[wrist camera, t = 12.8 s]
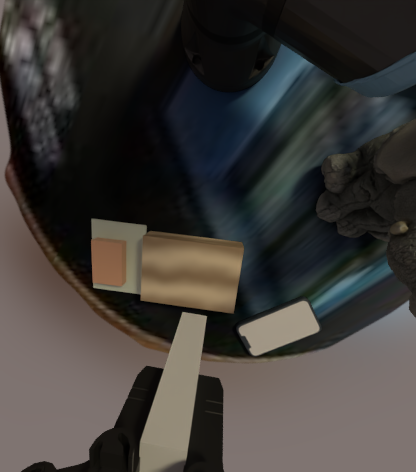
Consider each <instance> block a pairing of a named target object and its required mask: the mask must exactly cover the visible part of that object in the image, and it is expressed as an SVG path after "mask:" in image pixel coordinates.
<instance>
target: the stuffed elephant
mask: <svg viewBox="0 0 416 472" xmlns="http://www.w3.org/2000/svg"><path fill="white" fill-rule="evenodd" d="M321 170H322V174H323V175H324V177H325V179H324V182H325V187H326V188H327V189H326V191H325V192H324V193H323V194H321V196H320V197H319V199H318V202H317V206H316V211H317V216H318V217H319V218H321V219H323V220H325V221H327V222H335V221H336V223H337V229H338V233H339V234H341V235H343V236H347V237H350V238H352V237H353V238H355V237H359V236H361V235H363V234H365V233H366V232H368V233H370V234H372V236H374V237H376V238H378V239H381V240H383V241H386V242H389V243H388V246H387V250H386V251H387V252H386V256H387V260H388V265H389V266H390V268H391V270H393V272H394V274H395V276H396V277H397V278H398V279H399V281H401V282H402V283H403V284H405V285H406V286H407V287H408V288H409V290H410V291H411V292H412V295H411V296H410V299H409V310H410V311H411V313H412V314H413V315H414V316H415V317H416V119H414V120H412V121H410V122H409V123H406V124H403V125H401V126H400V127H398V128H396V129H394V130H393V131H392V132H390V133H388V134H385V135H382V136H379V137H377V138H375V139H373V140H371V141H369V142H367V143H365V144H364V145H362V146H361V147H360V148H358V149H357V150H356V151H355V152H353V153H347V154H334V155H330V156H328V157H327V158H326V159H325V160H324V162H323V164H322V168H321Z"/></svg>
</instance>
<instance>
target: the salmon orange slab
mask: <svg viewBox="0 0 416 472" xmlns="http://www.w3.org/2000/svg"><path fill="white" fill-rule="evenodd" d="M91 250H92V275H93V283H99V284H107V285H115V286H123V285H124V284H125V283H126V241H124V240H116V239H107V238H99V237H97V238H94V239H92V240H91Z"/></svg>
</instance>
